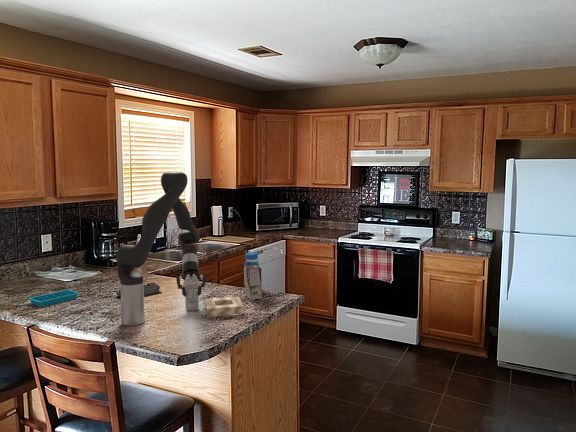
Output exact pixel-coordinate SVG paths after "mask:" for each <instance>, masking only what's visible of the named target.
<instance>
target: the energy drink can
mask: <svg viewBox="0 0 576 432" xmlns="http://www.w3.org/2000/svg"><path fill="white" fill-rule="evenodd" d="M198 280H199V279H198ZM198 280H197V277H187V278H186V281H185V297H184V300H185V301H184V303H185V306H184V307H185V309H186V311H187V310H188V312H194V310H196V311H198V309H199V307H200V305H199V304H200V303H199V296H198Z"/></svg>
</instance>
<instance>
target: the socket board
mask: <svg viewBox="0 0 576 432" xmlns="http://www.w3.org/2000/svg"><path fill="white" fill-rule="evenodd" d="M244 308H245V306H244V304H243V302H242V300H241V298H240V297H239V296H229V297H228V296H227V297H217V298H215V297H213V298H205V299H204V309H205V314H206V313H207V314H206V317H211V318H215V317H214V316H224V317H226V316H225V315H234V314H243V313H244V312H245V309H244ZM244 314H245V313H244Z"/></svg>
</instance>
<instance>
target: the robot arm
mask: <svg viewBox="0 0 576 432" xmlns="http://www.w3.org/2000/svg"><path fill="white" fill-rule="evenodd" d="M188 181H189V180H188V176H187V174H186V173H184V172H181V171H165V172H163V174H162V175H161V177H160V183H161V184H160V185H161V187H162V188H161V189H163V192H164V194H163V195H162V196H161V197H159V198H158V199H157V200H155V201H153V202H152V203H150V205H149V206H148V208H147V210H146V211H145V213H144V215H143V216H142V218H141V219H142V220H141V226H142V227H141V229H142V231H141V232H142V234H141V236H140V238H139V240H138V241H137V243H136V244H135V245H134V244H123V245H121V246H119V248H118V249H117V252H116V267H117V268H116V270H117V277H118V279H119V283H120V284H119V285H120V291H121V298H120V303H119V305H120V322H121V323H120V325H121V326H128V327H129V326H130V327H131V326H138V325H141V324H144V323H145V320H146V318H145V317H146V316H145V315H146V314H145V297H144V285H145V284H144V276H143V274H141V273H140V272H139V271H137V268H141V267H142V266H143V265H144V264H145V263H146V262H147V259H148V257H149V255H150V252H151V250H152V248H153V245H154V243H155V240H156V239H157V237H158V235H159V233H160V231H161V229H162V228H163V226H164V225H165V223H166V220H167V219H168V217H169V215H170V214H171V211H173V213H174V216H175V221H176V223H177V227H178V229H180V230H182V231H181V232H179V234H178V235H177V239H178V242H179V244H180V247H181V253H182V259H181V262H182V263H181V266H182V275H176V276H175V277H176V278H175V280H176V284H177V290H181V296H183V298H185V281H186V278H187V277H197V280H198V296H201V295H202V288H206V273H203V274H200V272H199V271H200V270H199V260H198V249H197V247H196V245H195V244H197V243H199V241H200V239H201V238H200V237H201V236H200V233H199V231H198V230H197V228H196V226H195V225H194V223H193V221H192V217H191V212H190V211H189V208H188V207H187V206H186V205H185V203H184V202H183V201H182V200H181V198H180V197H181V195H182V194H183V193H184V191H185V190H186V188H187V185H188ZM182 280H183V282H182V284H181V281H182ZM200 280H202V283H201V282H200Z"/></svg>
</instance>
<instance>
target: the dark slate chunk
mask: <svg viewBox="0 0 576 432" xmlns="http://www.w3.org/2000/svg"><path fill="white" fill-rule="evenodd" d="M160 289H161V286H160V285H159V284H157V283H156V282H154V281H152V282H148V283H146V284H144V298H146V297H151V296H156V295H160V294H161V295H162V294H163V291H160ZM115 295H117V296H118V297H120V299H121V290H120V291H116V292H115Z"/></svg>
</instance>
